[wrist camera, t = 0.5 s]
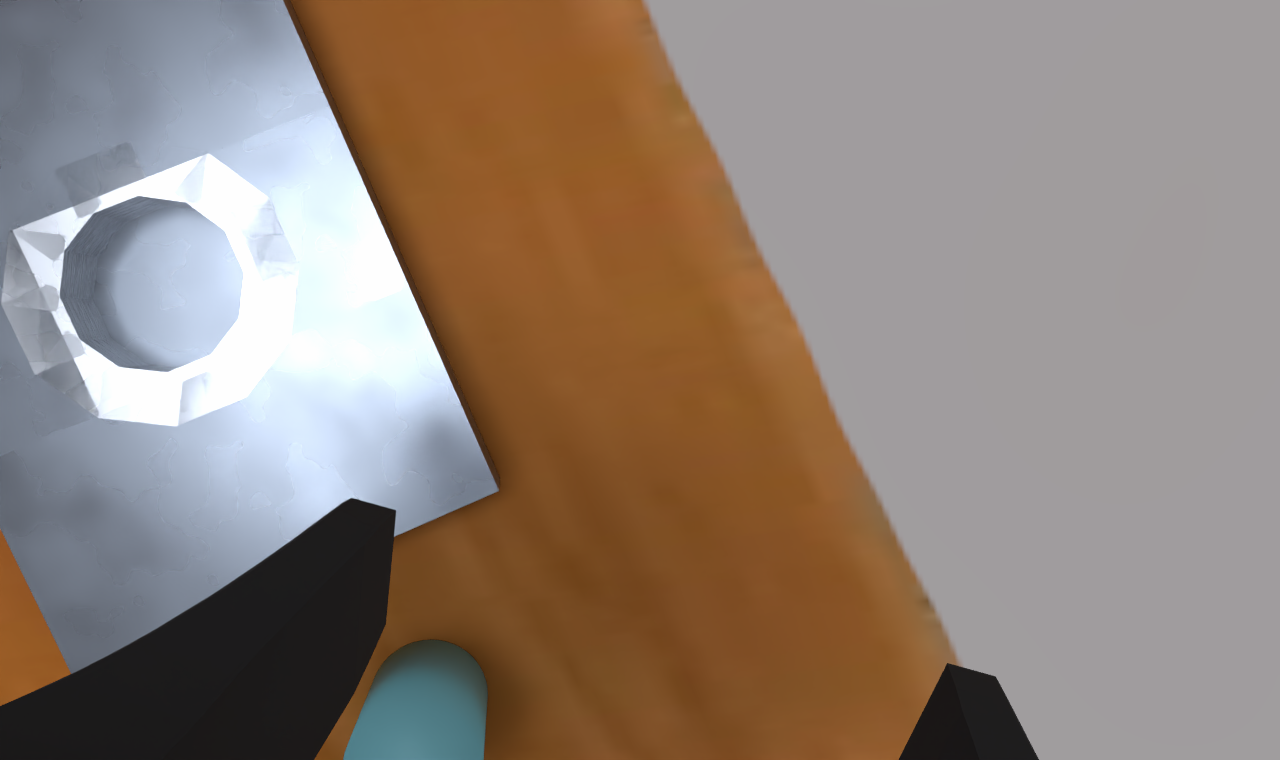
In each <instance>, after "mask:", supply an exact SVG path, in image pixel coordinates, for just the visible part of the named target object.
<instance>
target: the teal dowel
mask: <svg viewBox="0 0 1280 760" xmlns="http://www.w3.org/2000/svg"><path fill="white" fill-rule="evenodd" d="M487 699H488V691H487V683H486V679H485V676H484V673H483V671H482V669H481V667H480V666H479V664H478V663H477V662H476V660H475V659H474V658H473V657H472V656H471V655H470V654H469V653H468V652H466V651H465V650H464V649H462V648H460V647H459V646H457V645H454V644H452V643H449V642H446V641H440V640H422V641H417V642H413V643H410V644H407V645H405V646H403V647H401V648H400V649H398V650H397V651H395V652H394V653H393V654H391V655H390V656H389V657H388V658H387V659H386V660H385V661H384V662H383V664H382V665H381V667H380V668H379V670H378V672H377V674H376V676H375V678H374V680H373V683H372V685H371V688H370V690H369V693H368V695H367V698H366V700H365V703H364V705H363V708H362V710H361V713H360V715H359V718H358V720H357V723H356V725H355V728H354V730H353V733H352V735H351V738H350V740H349V743H348V745H347V748H346V751H345V754H344V759H343V760H483V759H484V744H485V729H486V714H487Z"/></svg>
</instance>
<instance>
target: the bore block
mask: <svg viewBox="0 0 1280 760" xmlns="http://www.w3.org/2000/svg"><path fill="white" fill-rule="evenodd" d="M499 485H500V477H499V474H498V472H497V470H496V468H495V465H494V463H493V461H492V459H491V456H490V454H489V452H488V449H487V447H486V445H485V443H484V440H483V438H482V436H481V433H480V431H479V429H478V427H477V424H476V422H475V420H474V418H473V415H472V413H471V411H470V408H469V406H468V404H467V402H466V399H465V397H464V395H463V393H462V390H461V388H460V386H459V383H458V381H457V379H456V377H455V374H454V372H453V370H452V368H451V365H450V363H449V361H448V358H447V356H446V354H445V352H444V349H443V347H442V345H441V343H440V340H439V338H438V336H437V333H436V331H435V329H434V327H433V324H432V322H431V320H430V318H429V315H428V313H427V311H426V308H425V306H424V304H423V302H422V299H421V297H420V295H419V293H418V290H417V288H416V286H415V283H414V281H413V279H412V277H411V274H410V272H409V270H408V268H407V265H406V263H405V261H404V258H403V256H402V254H401V252H400V249H399V247H398V245H397V242H396V240H395V238H394V236H393V233H392V231H391V229H390V227H389V224H388V222H387V220H386V217H385V215H384V213H383V211H382V208H381V206H380V204H379V202H378V199H377V197H376V195H375V192H374V190H373V188H372V186H371V183H370V181H369V179H368V177H367V174H366V172H365V170H364V167H363V165H362V163H361V161H360V158H359V156H358V154H357V152H356V149H355V147H354V145H353V142H352V140H351V138H350V136H349V133H348V131H347V129H346V127H345V124H344V122H343V120H342V117H341V115H340V113H339V111H338V108H337V106H336V104H335V102H334V99H333V97H332V95H331V92H330V90H329V88H328V86H327V83H326V81H325V79H324V77H323V74H322V72H321V70H320V67H319V65H318V63H317V61H316V58H315V56H314V54H313V51H312V49H311V47H310V45H309V42H308V40H307V38H306V36H305V33H304V31H303V29H302V26H301V24H300V22H299V20H298V17H297V15H296V13H295V11H294V8H293V6H292V4H291V1H290V0H0V529H1V531H2V533H3V535H4V537H5V539H6V541H7V543H8V545H9V547H10V549H11V551H12V553H13V555H14V557H15V559H16V561H17V563H18V565H19V567H20V570H21V572H22V574H23V576H24V578H25V580H26V582H27V584H28V586H29V588H30V590H31V592H32V594H33V596H34V598H35V600H36V602H37V604H38V606H39V608H40V610H41V612H42V614H43V617H44V619H45V621H46V623H47V625H48V627H49V629H50V631H51V633H52V635H53V637H54V639H55V641H56V643H57V645H58V647H59V649H60V651H61V653H62V655H63V657H64V659H65V662H66V664H67V666H68V668H69V670H70V672H71V674H72V673H74V672H76V671H78V670H80V669H82V668H84V667H86V666H88V665H90V664H92V663H94V662H96V661H98V660H100V659H102V658H104V657H106V656H108V655H110V654H111V653H113V652H115V651H117V650H119V649H121V648H123V647H125V646H126V645H128V644H130V643H132V642H134V641H135V640H137V639H139V638H141V637H142V636H144V635H146V634H148V633H150V632H151V631H153V630H155V629H156V628H158V627H160V626H161V625H163V624H165V623H166V622H168V621H170V620H171V619H173V618H175V617H176V616H178V615H179V614H181V613H183V612H184V611H186V610H188V609H189V608H191V607H193V606H194V605H196V604H198V603H199V602H201V601H202V600H204V599H206V598H207V597H209V596H210V595H212V594H214V593H215V592H217V591H218V590H220V589H221V588H223V587H224V586H226V585H227V584H229V583H230V582H232V581H233V580H235V579H236V578H238V577H239V576H241V575H242V574H244V573H245V572H246V571H248V570H249V569H251V568H252V567H254V566H255V565H257V564H258V563H260V562H261V561H263V560H264V559H266V558H267V557H269V556H270V555H271V554H273V553H274V552H276V551H277V550H278V549H280V548H281V547H283V546H284V545H285V544H287V543H288V542H290V541H291V540H292V539H294V538H295V537H296V536H298V535H299V534H301V533H302V532H303V531H305V530H306V529H307V528H309V527H310V526H311V525H313V524H314V523H315V522H317V521H318V520H319V519H321V518H322V517H324V516H325V515H326V514H328V513H329V512H330V511H332V510H333V509H334V508H336V507H337V506H338V505H340V504H341V503H342V502H344V501H346V500H348V499H350V498H354V499H358V500H361V501H365V502H369V503H372V504H376V505H379V506H383V507H387V508H390V509H394V510H396V519H395V530H394V537H395V536H397V535H399V534H402V533H404V532H406V531H408V530H411V529H413V528H415V527H418V526H420V525H422V524H424V523H427V522H429V521H431V520H434V519H436V518H438V517H440V516H443V515H445V514H447V513H449V512H452V511H454V510H456V509H459V508H461V507H463V506H465V505H468V504H470V503H472V502H475V501H477V500H479V499H481V498H484V497H486V496H488V495H491V494H493V493H495V492H497V491H499Z"/></svg>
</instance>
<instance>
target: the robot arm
mask: <svg viewBox="0 0 1280 760" xmlns="http://www.w3.org/2000/svg"><path fill="white" fill-rule="evenodd" d="M395 519H396V510H394V509H390V508H387V507H383V506H379V505H376V504H372V503H369V502H365V501H361V500H358V499H354V498H350V499H348V500H346V501H344V502H342V503H341V504H340V505H338V506H337V507H336V508H334V509H333V510H332V511H330V512H329V513H328V514H326V515H325V516H324V517H322V518H321V519H319V520H318V521H317V522H315V523H314V524H313V525H311V526H310V527H309V528H307V529H306V530H305V531H303V532H302V533H301V534H299V535H298V536H296V537H295V538H294V539H292V540H291V541H290V542H288V543H287V544H285V545H284V546H283V547H281V548H280V549H278V550H277V551H276V552H274V553H273V554H271V555H270V556H269V557H267V558H266V559H264V560H263V561H261V562H260V563H258V564H257V565H255V566H254V567H252V568H251V569H249V570H248V571H246V572H245V573H244V574H242V575H241V576H239V577H238V578H236V579H235V580H233V581H232V582H230V583H229V584H227V585H226V586H224V587H223V588H221V589H220V590H218V591H217V592H215V593H214V594H212V595H210V596H209V597H207V598H206V599H204V600H202V601H201V602H199V603H198V604H196V605H194V606H193V607H191V608H189V609H188V610H186V611H184V612H183V613H181V614H179V615H178V616H176V617H175V618H173V619H171V620H170V621H168V622H166V623H165V624H163V625H161V626H160V627H158V628H156V629H155V630H153V631H151V632H150V633H148V634H146V635H144V636H142V637H141V638H139V639H137V640H135V641H134V642H132V643H130V644H128V645H126V646H125V647H123V648H121V649H119V650H117V651H115V652H113V653H111V654H110V655H108V656H106V657H104V658H102V659H100V660H98V661H96V662H94V663H92V664H90V665H88V666H86V667H84V668H82V669H80V670H78V671H76V672H74V673H72V674H70V675H68V676H66V677H64V678H62V679H60V680H58V681H55V682H53V683H51V684H49V685H47V686H45V687H42V688H40V689H38V690H36V691H34V692H31V693H29V694H27V695H25V696H23V697H20V698H18V699H16V700H13V701H11V702H9V703H7V704H4V705H2V706H0V760H314V758H315V757H316V755H317V754H318V752H319V750H320V749H321V747H322V745H323V744H324V742H325V741H326V739H327V737H328V736H329V734H330V732H331V731H332V729H333V727H334V726H335V724H336V722H337V721H338V719H339V717H340V716H341V714H342V713H343V711H344V709H345V708H346V706H347V704H348V703H349V701H350V699H351V697H352V696H353V694H354V692H355V690H356V688H357V686H358V684H359V682H360V679H361V677H362V675H363V673H364V671H365V669H366V667H367V665H368V662H369V660H370V658H371V656H372V654H373V651H374V649H375V647H376V645H377V642H378V640H379V638H380V636H381V634H382V631H383V629H384V627H385V625H386V615H387V605H388V594H389V583H390V573H391V562H392V551H393V541H394V530H395ZM899 760H1039V759H1038V757H1037V755H1036V753H1035V752H1034V749H1033V747H1032V746H1031V744H1030V742H1029V740H1028V738H1027V736H1026V734H1025V732H1024V730H1023V728H1022V726H1021V724H1020V722H1019V720H1018V718H1017V716H1016V714H1015V712H1014V711H1013V709H1012V707H1011V705H1010V703H1009V701H1008V699H1007V697H1006V695H1005V693H1004V691H1003V689H1002V687H1001V686H1000V684H999V682H998V680H997V678H996V677H995V676H991V675H988V674H984V673H981V672H977V671H974V670H970V669H966V668H963V667H959V666H956V665H952V664H948V663H947V665H946V667H945V669H944V671H943V673H942V675H941V677H940V679H939V681H938V683H937V685H936V687H935V689H934V691H933V693H932V695H931V697H930V699H929V701H928V703H927V705H926V707H925V708H924V710H923V712H922V714H921V716H920V718H919V720H918V722H917V724H916V726H915V728H914V730H913V732H912V734H911V736H910V738H909V740H908V742H907V744H906V746H905V748H904V750H903V752H902V754H901V756H900V758H899Z"/></svg>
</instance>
